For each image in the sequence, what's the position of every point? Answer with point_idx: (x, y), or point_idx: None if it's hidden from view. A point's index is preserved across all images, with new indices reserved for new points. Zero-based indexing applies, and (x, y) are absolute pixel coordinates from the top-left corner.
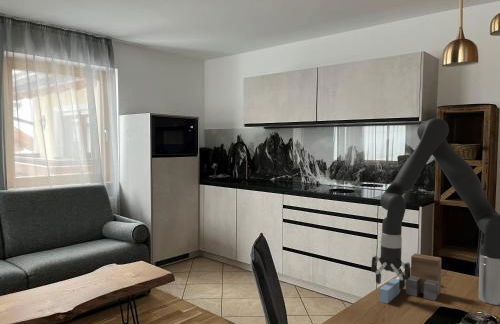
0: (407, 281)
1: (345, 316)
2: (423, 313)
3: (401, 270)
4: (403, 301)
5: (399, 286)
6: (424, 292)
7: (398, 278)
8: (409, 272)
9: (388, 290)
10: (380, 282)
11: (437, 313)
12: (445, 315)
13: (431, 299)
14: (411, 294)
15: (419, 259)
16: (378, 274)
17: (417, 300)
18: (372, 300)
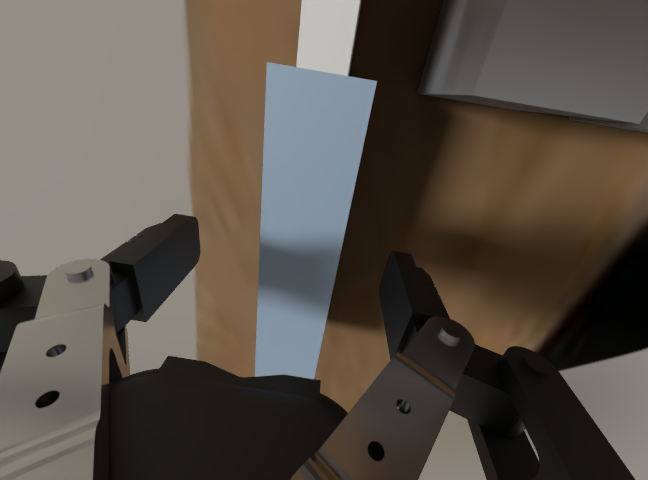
0: (479, 97)
1: None
2: (501, 342)
3: (444, 416)
4: (400, 245)
5: (383, 307)
6: (622, 126)
7: (342, 4)
8: (598, 467)
9: (313, 377)
10: (194, 224)
11: (584, 318)
12: (625, 324)
13: (638, 131)
14: (469, 102)
15: None
16: (129, 311)
17: (501, 183)
18: (239, 303)
